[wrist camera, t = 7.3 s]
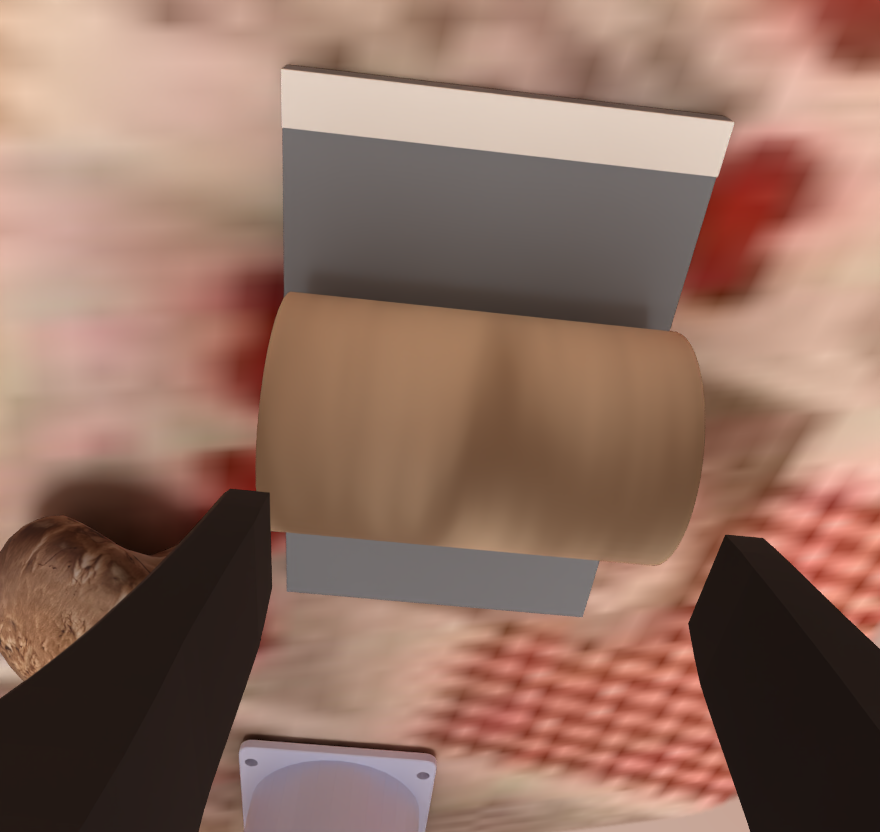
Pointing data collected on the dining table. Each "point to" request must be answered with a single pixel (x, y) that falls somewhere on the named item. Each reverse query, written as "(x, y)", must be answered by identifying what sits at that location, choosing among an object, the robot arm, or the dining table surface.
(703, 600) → the robot arm
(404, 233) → the grey board
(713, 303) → the dining table surface
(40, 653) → the mushroom
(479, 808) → the dining table surface
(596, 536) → the roller
